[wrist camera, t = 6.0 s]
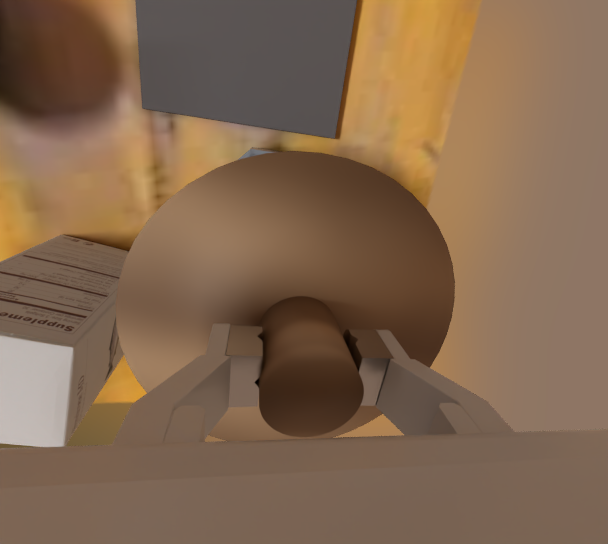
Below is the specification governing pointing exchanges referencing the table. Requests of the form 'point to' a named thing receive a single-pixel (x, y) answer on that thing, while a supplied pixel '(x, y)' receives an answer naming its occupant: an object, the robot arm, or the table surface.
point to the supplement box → (56, 337)
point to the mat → (247, 60)
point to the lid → (286, 284)
